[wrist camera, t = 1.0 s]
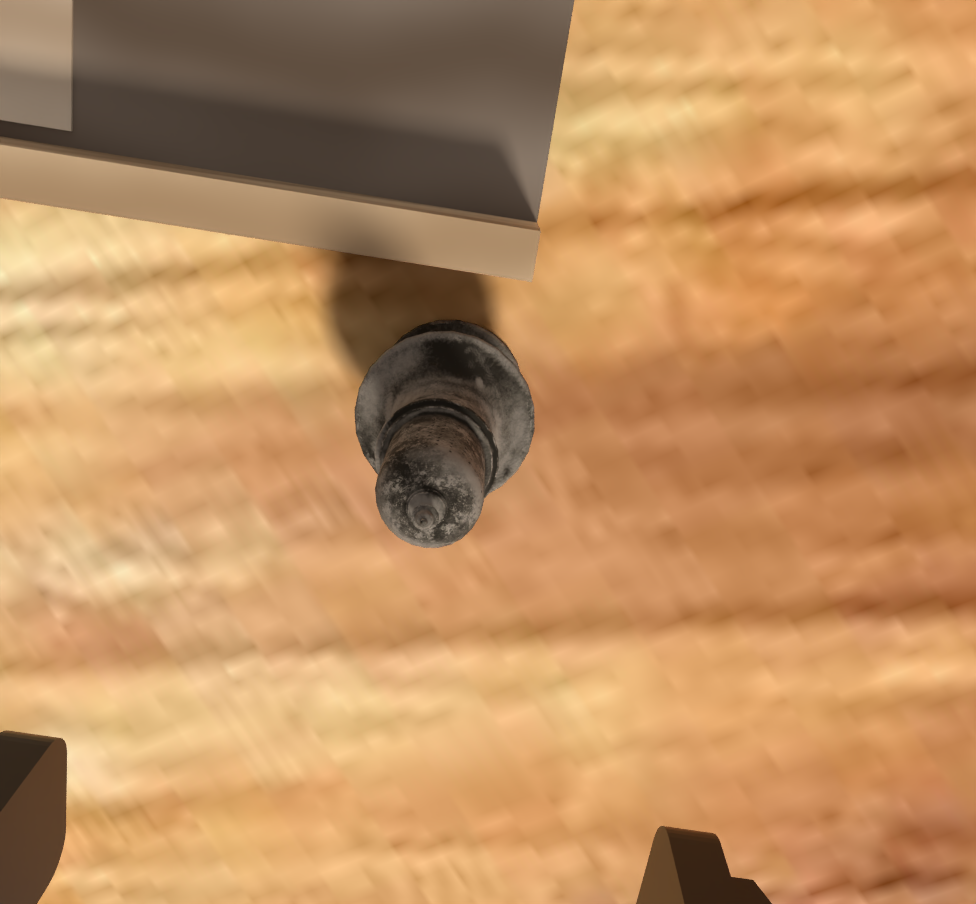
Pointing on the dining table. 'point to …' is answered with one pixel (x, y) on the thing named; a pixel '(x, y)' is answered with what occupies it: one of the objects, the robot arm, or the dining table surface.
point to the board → (292, 119)
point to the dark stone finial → (442, 428)
